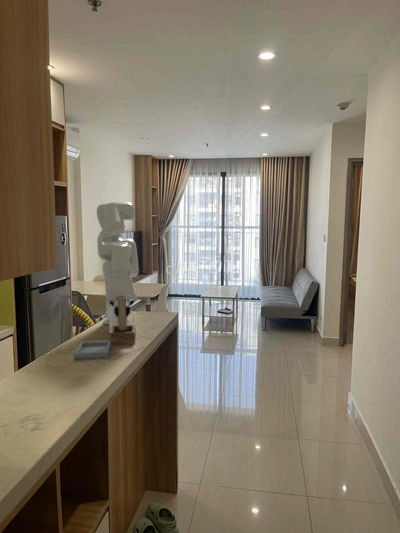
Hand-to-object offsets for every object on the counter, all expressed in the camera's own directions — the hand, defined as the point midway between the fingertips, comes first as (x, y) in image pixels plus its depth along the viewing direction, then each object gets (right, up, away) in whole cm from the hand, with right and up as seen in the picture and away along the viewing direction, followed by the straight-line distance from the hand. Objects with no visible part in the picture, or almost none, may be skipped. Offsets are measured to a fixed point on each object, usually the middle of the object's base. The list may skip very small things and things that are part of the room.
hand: (122, 315), depth 167 cm
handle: (0, -6, +1) cm, 6 cm away
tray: (-8, -13, -14) cm, 21 cm away
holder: (0, -11, +1) cm, 11 cm away
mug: (-3, -10, +13) cm, 17 cm away
